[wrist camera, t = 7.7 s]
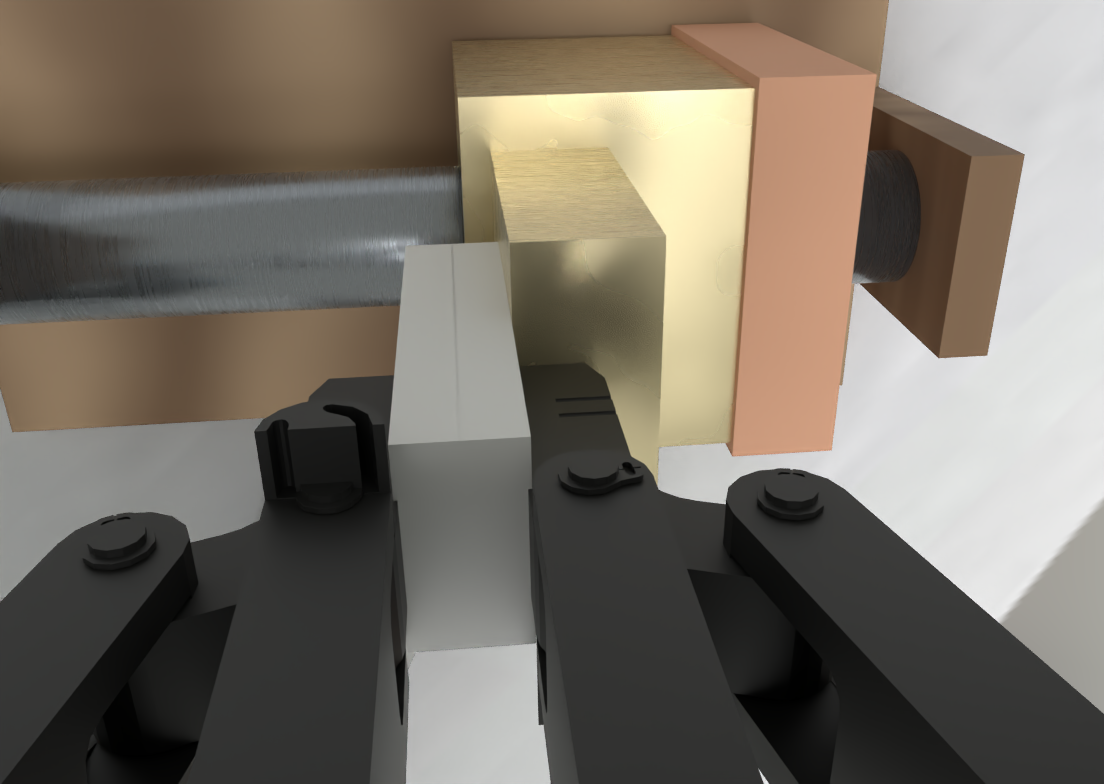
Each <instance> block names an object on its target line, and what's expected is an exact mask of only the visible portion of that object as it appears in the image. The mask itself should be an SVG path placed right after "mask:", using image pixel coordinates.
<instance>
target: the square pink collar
mask: <svg viewBox="0 0 1104 784" xmlns="http://www.w3.org/2000/svg"><path fill="white" fill-rule="evenodd" d="M671 35H673V36H675V37H677V38H678V39H680V40H681V41H683V42H684V43H686V44H687V45H689V46H691V47H692V48H694V49H695V50H697V51H698V52H700V53H702V54H703V55H705V56H706V57H708V58H709V59H711V60H712V61H714V62H716V63H717V64H719V65H720V66H722V67H723V68H725V69H727V70H728V71H730V72H731V73H733V74H734V75H736V76H737V77H739V78H741V79H742V80H744V81H745V82H747V83H748V84H750V85H751V86H753V87H755V88H756V90H755V104H754V119H753V133H752V147H751V161H750V175H749V189H748V203H747V217H746V231H745V245H744V259H743V273H742V287H741V301H740V315H739V329H738V343H737V357H736V371H735V385H734V399H733V413H732V427H731V441H730V443H726V445H727V447H728V449H729V451H730V453H731V455H732V456H747V455H763V454H779V453H795V452H812V451H828V450H832V442H833V434H834V426H835V417H836V409H837V401H838V393H839V384H840V376H841V368H842V359H843V351H844V343H845V334H846V326H847V318H848V309H849V301H850V293H851V284H852V276H853V268H854V260H855V251H856V243H857V235H858V226H859V218H860V210H861V201H862V193H863V185H864V176H865V168H866V160H867V151H868V143H869V135H870V127H871V118H872V110H873V102H874V93H875V85H876V77H877V74H875V73H873V72H870V71H868V70H866V69H863V68H861V67H859V66H856V65H854V64H852V63H850V62H847V61H845V60H843V59H840V58H838V57H836V56H833V55H831V54H829V53H826V52H824V51H822V50H820V49H817V48H815V47H813V46H810V45H808V44H806V43H803V42H801V41H799V40H797V39H794V38H792V37H790V36H787V35H785V34H783V33H780V32H778V31H776V30H773V29H771V28H769V27H767V26H764V25H762V24H760V23H725V24H687V25H672V28H671Z"/></svg>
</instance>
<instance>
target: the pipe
mask: <svg viewBox="0 0 1104 784" xmlns="http://www.w3.org/2000/svg"><path fill="white" fill-rule="evenodd" d="M920 226H921V201H920V192H919V186H918V181H917V177H916V174H915V171H914V168H913V166H912V164H911V162H910V160H909V159H908V157H907V156H906V155H905V154H904V153H903V152H901V151H899V150H873V151H867V160H866V168H865V176H864V185H863V193H862V201H861V210H860V218H859V226H858V235H857V243H856V251H855V260H854V268H853V276H852V284H858V283H879V282H895V281H898V280H900V279H902V278H903V277H904V276H905V274H906V273H907V272H908V270H909V268H910V267H911V264H912V262H913V260H914V257H915V254H916V250H917V246H918V241H919V235H920ZM461 243H464V223H463V204H462V184H461V166H442V167H415V168H388V169H361V170H334V171H307V172H280V173H253V174H226V175H199V176H172V177H145V178H118V179H91V180H64V181H37V182H10V183H0V325H8V324H28V323H49V322H70V321H91V320H111V319H132V318H153V317H174V316H194V315H215V314H236V313H257V312H277V311H298V310H319V309H340V308H360V307H381V306H400V303H401V292H402V281H403V269H404V258H405V247H406V246H413V245H437V244H461Z"/></svg>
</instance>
